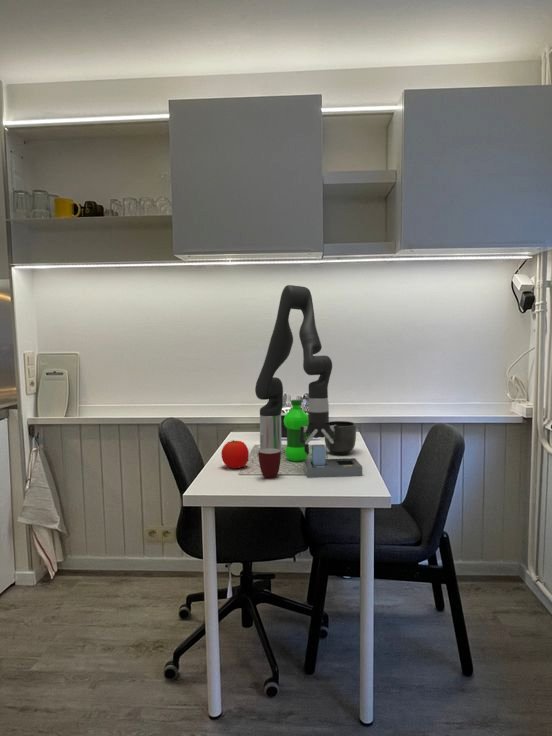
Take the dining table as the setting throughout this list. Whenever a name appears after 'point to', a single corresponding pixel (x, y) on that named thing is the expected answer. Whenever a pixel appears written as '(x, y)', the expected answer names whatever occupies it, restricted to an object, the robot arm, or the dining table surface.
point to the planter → (342, 437)
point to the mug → (269, 462)
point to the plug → (318, 455)
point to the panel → (333, 468)
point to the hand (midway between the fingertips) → (319, 453)
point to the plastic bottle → (295, 432)
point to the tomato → (235, 454)
